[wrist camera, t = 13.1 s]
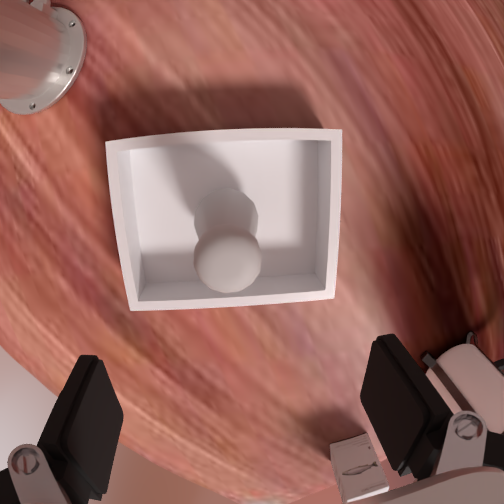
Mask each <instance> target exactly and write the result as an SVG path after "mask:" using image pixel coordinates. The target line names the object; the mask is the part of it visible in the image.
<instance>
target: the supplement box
mask: <svg viewBox="0 0 504 504" xmlns="http://www.w3.org/2000/svg"><path fill="white" fill-rule="evenodd" d="M330 455H331V464H332V468H333V471H334V475H335V478H336V482H337V485H338V488H339V492H340V495H341V498H342V502H343V503H347V502H351V501H355V500H359V499H363V498H367V497H370V496H374V495H377V494H380V493H384V492H387V491H388V489H389V484H388V481H387V479H386V476H385V474H384V472H383V469H382V467H381V464H380V462H379V459H378V457H377V454H376V452H375V450H374V447H373V445H372V443H371V440H370V438H369V435H368V433H365V434H363V435H360V436H357V437H354V438H351V439H347V440H344V441H340V442H337V443H332V444H330Z"/></svg>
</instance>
